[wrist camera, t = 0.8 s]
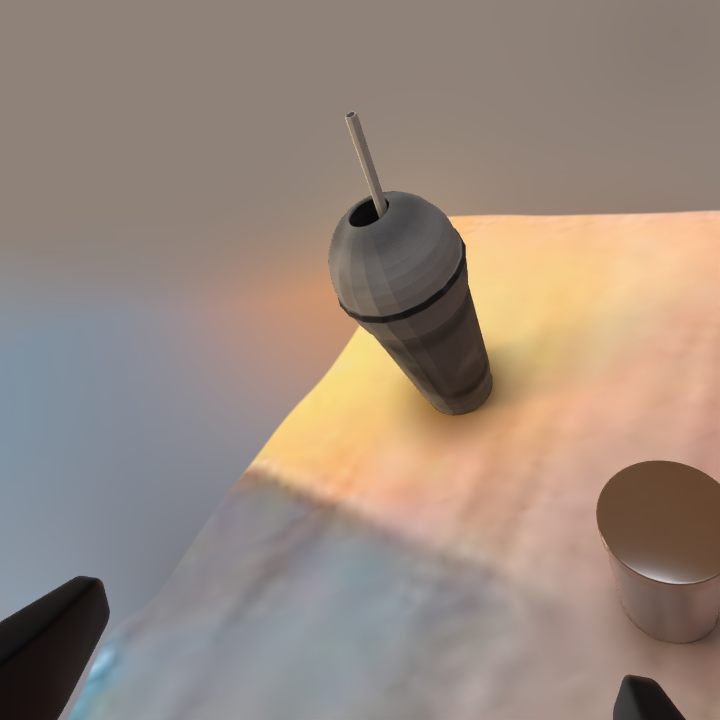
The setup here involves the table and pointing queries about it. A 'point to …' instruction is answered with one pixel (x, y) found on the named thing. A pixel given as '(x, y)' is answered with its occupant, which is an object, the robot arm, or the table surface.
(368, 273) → the beverage cup
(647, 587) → the spice jar
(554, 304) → the table surface
